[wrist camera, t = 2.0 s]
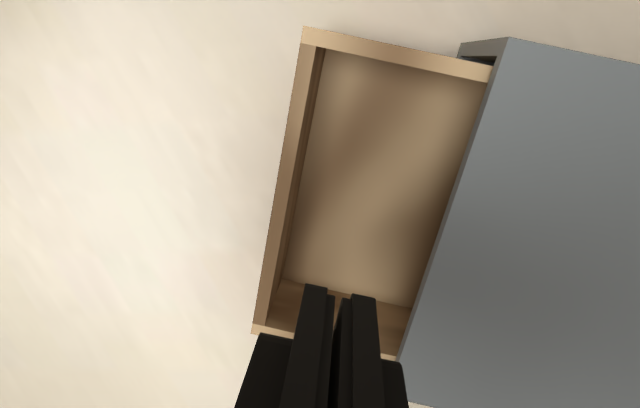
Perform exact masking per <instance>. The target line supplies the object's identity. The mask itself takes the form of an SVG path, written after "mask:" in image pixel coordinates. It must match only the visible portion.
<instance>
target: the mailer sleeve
mask: <svg viewBox="0 0 640 408" xmlns="http://www.w3.org/2000/svg"><path fill="white" fill-rule="evenodd" d="M457 59H462V60H466V61H471V62H476V63H480V64H485V65H490V66H494V67H493V70H492V73H491V76H490V79H489V82H488V85H487V88H486V91H485V94H484V97H483V100H482V103H481V106H480V109H479V111H478V114H477V117H476V120H475V123H474V126H473V129H472V132H471V135H470V138H469V141H468V144H467V147H466V150H465V153H464V156H463V159H462V162H461V165H460V168H459V171H458V174H457V177H456V180H455V183H454V186H453V189H452V192H451V195H450V198H449V201H448V204H447V207H446V210H445V213H444V216H443V219H442V222H441V225H440V228H439V231H438V234H437V237H436V240H435V243H434V246H433V249H432V252H431V255H430V258H429V261H428V264H427V267H426V270H425V273H424V276H423V279H422V282H421V285H420V288H419V291H418V294H417V297H416V300H415V303H414V306H413V309H412V312H411V315H410V318H409V321H408V324H407V327H406V330H405V333H404V336H403V339H402V342H401V345H400V348H399V351H398V354H397V357H396V360H395V361H396V362H400V363H401V365H402V368H403V374H404V380H405V386H406V393H407V399H408V402H413V403H417V404H421V405H426V406H430V407H434V408H640V65H639V64H635V63H630V62H625V61H620V60H616V59H611V58H606V57H602V56H597V55H592V54H587V53H583V52H578V51H573V50H569V49H564V48H559V47H554V46H550V45H545V44H540V43H536V42H531V41H526V40H521V39H517V38H512V37H504V38H497V39H489V40H482V41H474V42H467V43H461V46H460V49H459V52H458V56H457Z"/></svg>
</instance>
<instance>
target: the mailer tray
mask: <svg viewBox="0 0 640 408" xmlns="http://www.w3.org/2000/svg"><path fill="white" fill-rule="evenodd" d="M493 67H494V66H490V65H485V64H480V63H476V62H471V61H466V60H462V59H457V58H452V57H448V56H443V55H438V54H434V53H429V52H424V51H420V50H415V49H410V48H406V47H401V46H396V45H392V44H387V43H382V42H378V41H373V40H368V39H363V38H359V37H354V36H349V35H345V34H340V33H335V32H331V31H326V30H321V29H317V28H312V27H307V26H303V31H302V37H301V43H300V49H299V55H298V60H297V66H296V72H295V78H294V84H293V90H292V95H291V101H290V107H289V113H288V119H287V125H286V131H285V136H284V142H283V148H282V154H281V160H280V166H279V172H278V177H277V183H276V189H275V195H274V201H273V207H272V212H271V218H270V224H269V230H268V236H267V242H266V248H265V253H264V259H263V265H262V271H261V277H260V283H259V289H258V294H257V300H256V306H255V312H254V318H253V324H252V329H251V334H255V335H259V334H260V332H262V333H267V334H272V335H276V336H281V337H285V338H290V339H293V338H294V333H295V328H296V324H297V319H298V315H299V310H300V305H301V301H302V296H303V292H304V287H305V283H308V284H313V285H317V286H322V287H327V288H328V291H327V294H330V295H334V296H335V310H334V323H333V329H334V326H335V322H336V318H337V314H338V310H339V306H340V302H341V299H342V297H343V298H348V299H350V297H351V294H352V293H354V294H359V295H364V296H368V297H373V298H375V299H376V308H377V319H378V330H379V341H380V352H381V358H382V359H387V360H391V361H395V360H396V357H397V354H398V351H399V348H400V345H401V342H402V339H403V336H404V333H405V330H406V327H407V324H408V321H409V318H410V315H411V312H412V309H413V306H414V303H415V300H416V297H417V294H418V291H419V288H420V285H421V282H422V279H423V276H424V273H425V270H426V267H427V264H428V261H429V258H430V255H431V252H432V249H433V246H434V243H435V240H436V237H437V234H438V231H439V228H440V225H441V222H442V219H443V216H444V213H445V210H446V207H447V204H448V201H449V198H450V195H451V192H452V189H453V186H454V183H455V180H456V177H457V174H458V171H459V168H460V165H461V162H462V159H463V156H464V153H465V150H466V147H467V144H468V141H469V138H470V135H471V132H472V129H473V126H474V123H475V120H476V117H477V114H478V111H479V109H480V106H481V103H482V100H483V97H484V94H485V91H486V88H487V85H488V82H489V79H490V76H491V73H492V70H493Z"/></svg>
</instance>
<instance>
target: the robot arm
mask: <svg viewBox="0 0 640 408" xmlns="http://www.w3.org/2000/svg"><path fill="white" fill-rule="evenodd" d="M327 291H328V288H327V287H322V286H317V285H313V284H308V283H305V287H304V292H303V296H302V301H301V305H300V310H299V315H298V319H297V324H296V328H295V333H294V338H293V339H290V338H285V337H281V336H276V335H272V334H267V333H262V332H260V334H259V336H258V339H257V342H256V345H255V348H254V351H253V354H252V357H251V360H250V363H249V366H248V369H247V372H246V375H245V378H244V380H243V383H242V386H241V389H240V392H239V395H238V398H237V401H236V404H235V407H234V408H409V406H408V399H407V393H406V386H405V380H404V374H403V368H402V365H401V363H400V362H396V361H391V360H387V359H382V358H381V352H380V341H379V330H378V319H377V308H376V299H375V298H373V297H368V296H364V295H359V294H354V293H352V294H351V297H350V299H348V298H343V297H342V299H341V302H340V306H339V310H338V314H337V318H336V322H335V326H334V329H333V323H334V310H335V296H334V295H330V294H327Z"/></svg>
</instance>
